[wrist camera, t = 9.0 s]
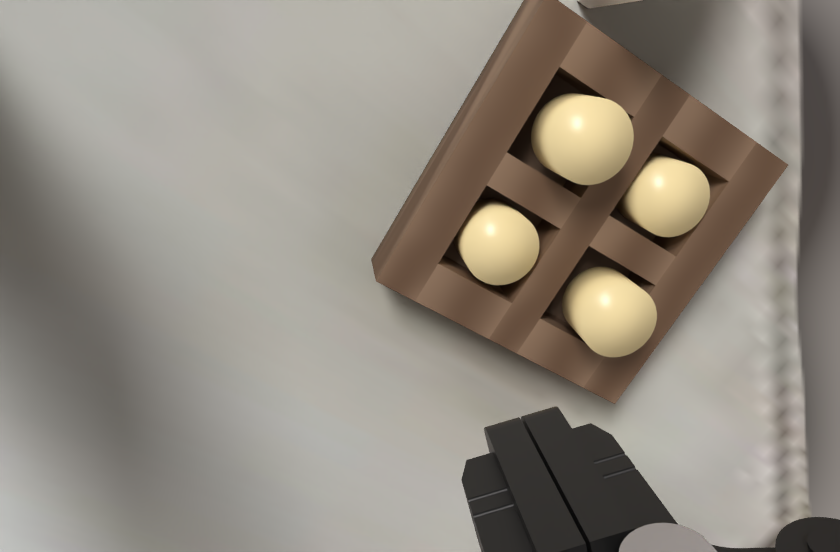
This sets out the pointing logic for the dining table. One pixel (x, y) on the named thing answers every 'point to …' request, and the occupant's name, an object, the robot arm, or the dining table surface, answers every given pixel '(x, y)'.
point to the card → (602, 2)
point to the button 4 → (666, 196)
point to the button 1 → (497, 242)
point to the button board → (568, 197)
